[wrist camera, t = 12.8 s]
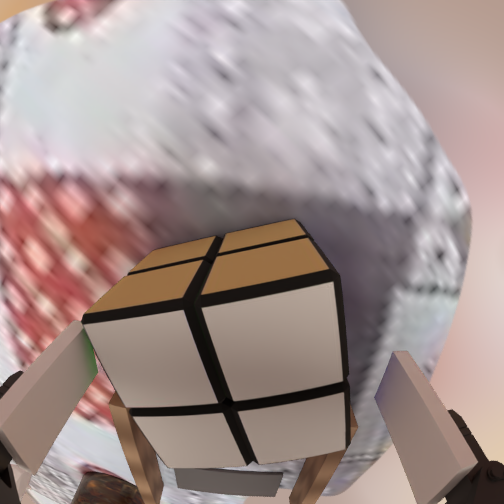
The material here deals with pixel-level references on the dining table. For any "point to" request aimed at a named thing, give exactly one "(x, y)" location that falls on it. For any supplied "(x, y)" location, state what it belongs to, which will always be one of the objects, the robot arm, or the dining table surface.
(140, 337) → the puzzle cube
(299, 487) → the channel
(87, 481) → the jar
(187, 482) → the pad
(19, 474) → the cat figurine
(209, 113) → the dining table surface
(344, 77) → the dining table surface
